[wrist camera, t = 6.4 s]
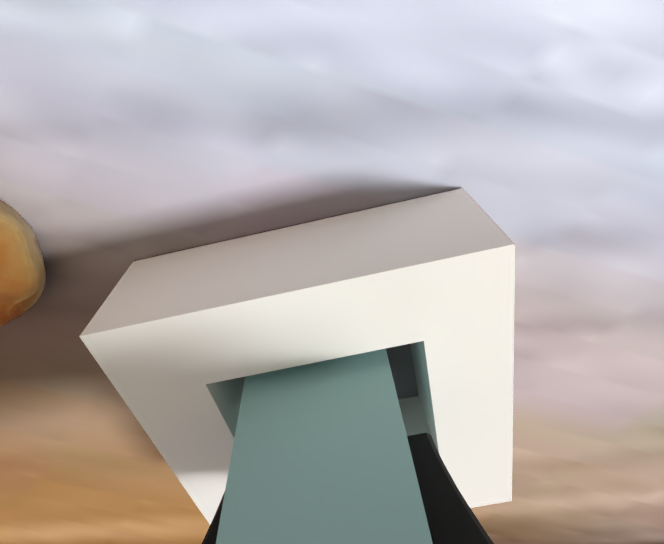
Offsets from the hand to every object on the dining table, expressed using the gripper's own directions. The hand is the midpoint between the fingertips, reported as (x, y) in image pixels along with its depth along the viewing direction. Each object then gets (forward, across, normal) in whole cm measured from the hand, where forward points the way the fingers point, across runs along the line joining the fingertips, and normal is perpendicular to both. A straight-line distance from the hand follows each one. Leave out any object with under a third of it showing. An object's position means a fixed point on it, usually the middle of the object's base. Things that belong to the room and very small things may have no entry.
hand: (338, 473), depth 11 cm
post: (+4, 0, 0) cm, 4 cm away
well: (+5, 0, 0) cm, 5 cm away
